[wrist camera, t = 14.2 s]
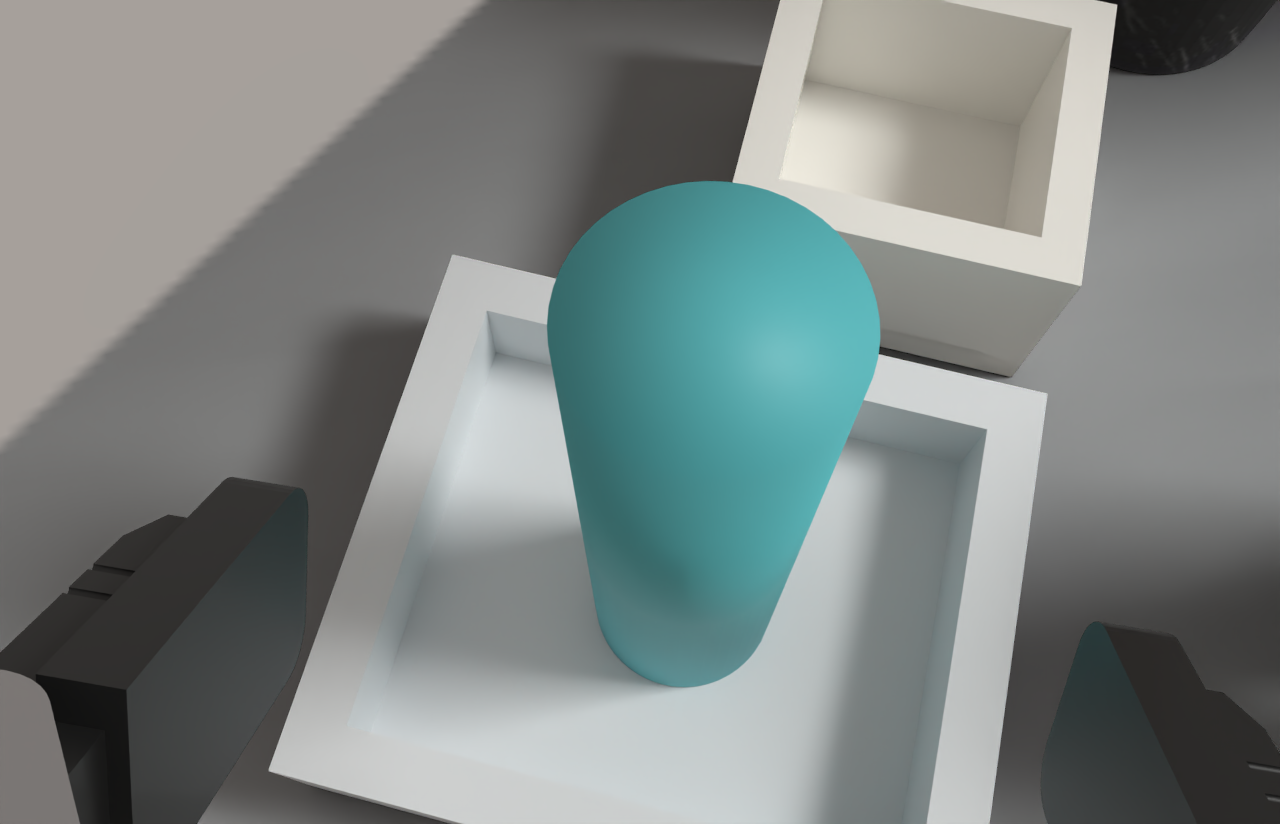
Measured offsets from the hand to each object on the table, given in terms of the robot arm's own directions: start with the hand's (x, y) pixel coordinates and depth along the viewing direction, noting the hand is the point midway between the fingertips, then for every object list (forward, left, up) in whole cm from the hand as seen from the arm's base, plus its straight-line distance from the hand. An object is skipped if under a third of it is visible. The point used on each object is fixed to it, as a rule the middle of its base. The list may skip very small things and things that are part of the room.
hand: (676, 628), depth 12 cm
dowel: (-4, 0, -15) cm, 15 cm away
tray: (-4, 0, -16) cm, 16 cm away
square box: (-16, +3, -16) cm, 23 cm away
